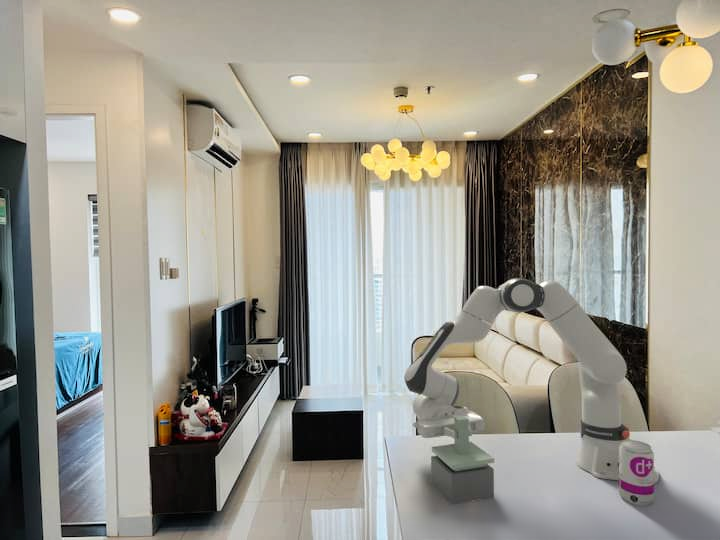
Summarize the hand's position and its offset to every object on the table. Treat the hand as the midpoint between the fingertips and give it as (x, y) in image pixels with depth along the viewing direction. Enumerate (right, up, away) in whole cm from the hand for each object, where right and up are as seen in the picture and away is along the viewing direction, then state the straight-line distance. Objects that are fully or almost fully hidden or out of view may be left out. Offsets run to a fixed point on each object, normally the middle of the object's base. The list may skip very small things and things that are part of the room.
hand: (463, 434), depth 134 cm
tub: (0, -16, +1) cm, 16 cm away
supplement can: (+46, -16, -6) cm, 49 cm away
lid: (0, -8, +1) cm, 8 cm away
